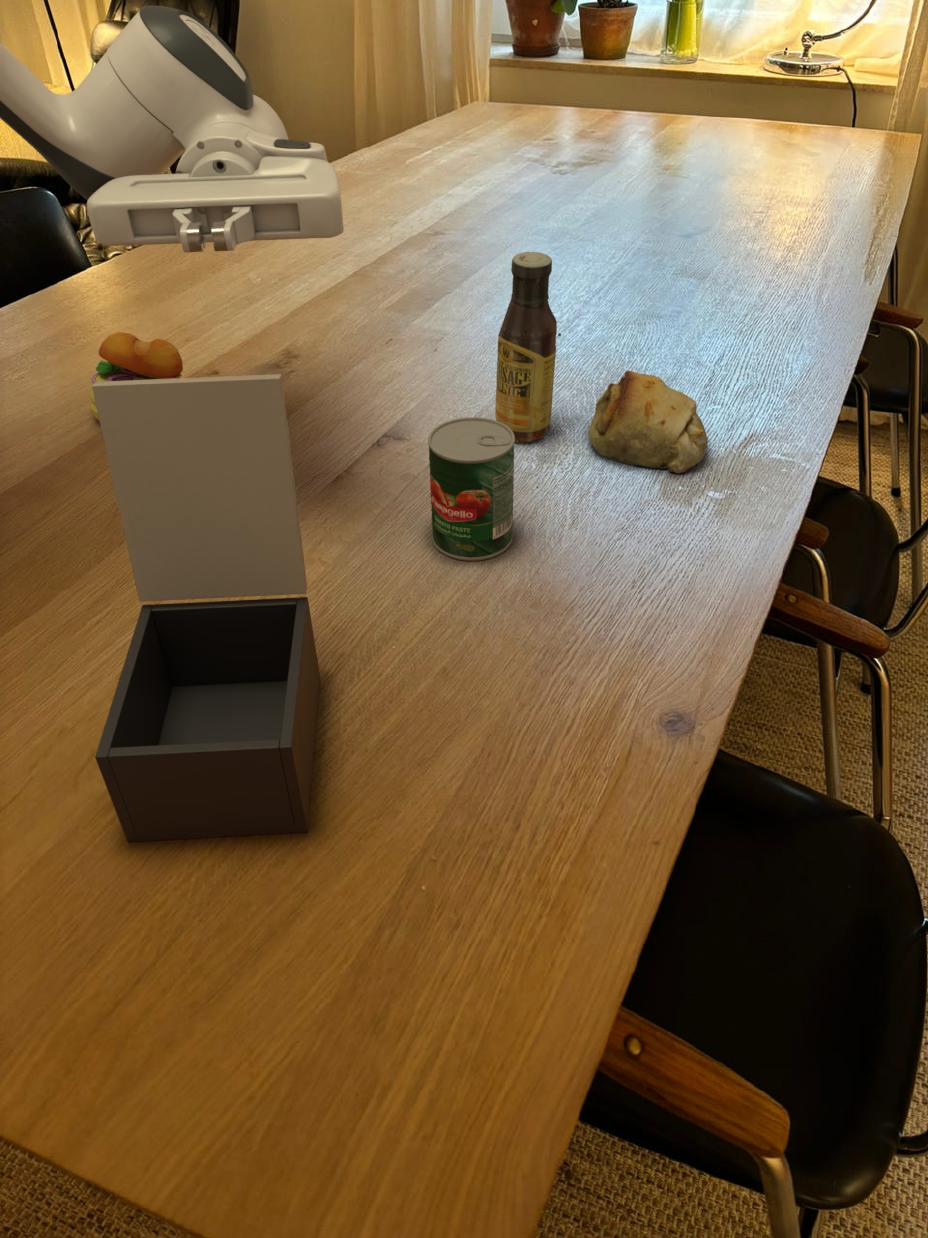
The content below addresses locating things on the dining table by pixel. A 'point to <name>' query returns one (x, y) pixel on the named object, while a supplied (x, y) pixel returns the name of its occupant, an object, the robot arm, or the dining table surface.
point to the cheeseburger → (135, 361)
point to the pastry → (648, 425)
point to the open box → (214, 721)
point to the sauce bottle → (527, 351)
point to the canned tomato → (472, 487)
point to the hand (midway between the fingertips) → (206, 241)
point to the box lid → (204, 485)
